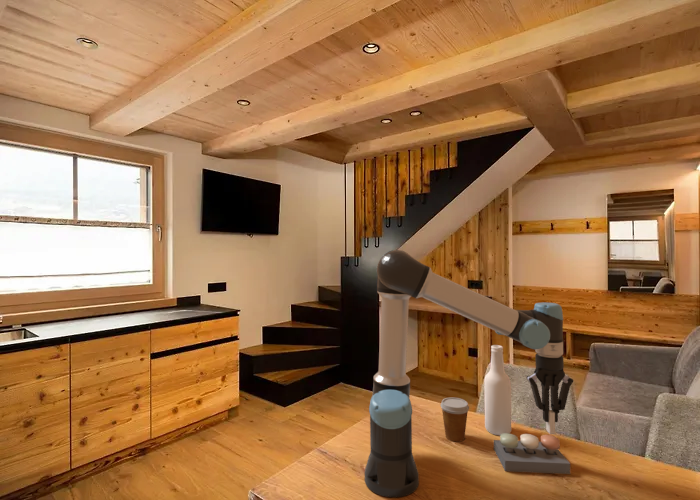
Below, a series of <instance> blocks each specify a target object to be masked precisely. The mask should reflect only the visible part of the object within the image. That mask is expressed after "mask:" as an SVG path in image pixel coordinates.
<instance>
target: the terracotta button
mask: <svg viewBox="0 0 700 500" xmlns="http://www.w3.org/2000/svg"><path fill="white" fill-rule="evenodd" d="M560 441H561V440H560V439H559V438H558V437H557V436H554V435H553V434H542V435H541V436H540V442H541V445H542V446H543V447H545V448H546V454H550V455H554V450H557V449H558V450H559V449H560V446H561V445H560Z"/></svg>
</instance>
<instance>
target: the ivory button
mask: <svg viewBox="0 0 700 500" xmlns="http://www.w3.org/2000/svg"><path fill="white" fill-rule="evenodd" d="M519 437H520V441H521V445H522V446H524V447H526V454H534V449H536V448H538V447H539V442H540V441H539V440H540V439H539V437H537V435H534V434H530V433H522V434H520V436H519Z"/></svg>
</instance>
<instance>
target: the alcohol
mask: <svg viewBox="0 0 700 500" xmlns="http://www.w3.org/2000/svg"><path fill="white" fill-rule="evenodd" d="M490 348H491V349H490V352H491V354H490V355H491V356H490V369H489V370H488V372H487V373H486V374H485V377H484V382H483V383H484V384H483V385H484V386H483V387H484V388H483V389H484V390H483V391H484V427H485V429H486V431H487V432H489V433H490V434H491V435H495V436H499V437H500V435H501V434H503V433H509V434H511V432H512V383H511V378H510V376H509V375H508V374H507V372H506V371H505V363H504V350H503V349H504V346H502V345H498V344H493V345H491V346H490Z"/></svg>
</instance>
